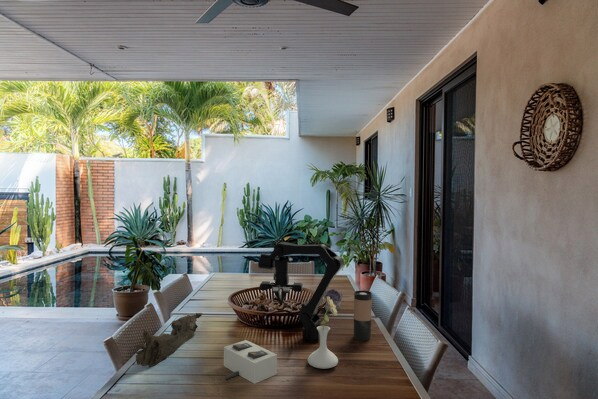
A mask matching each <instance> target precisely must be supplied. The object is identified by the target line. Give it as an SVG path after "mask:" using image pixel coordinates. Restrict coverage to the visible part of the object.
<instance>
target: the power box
mask: <svg viewBox="0 0 598 399" xmlns="http://www.w3.org/2000/svg"><path fill="white" fill-rule="evenodd" d="M236 344H248V345H250V346H252V347H250V348H247V349H244V350H240V351H238V350H236V349H234V348H233V345H236ZM256 351H262V352H264V353H266V354H268V355H265V356H262V357H260V358H252V357H250V356H248V352H256ZM223 367H225V368H227V369H228V370H230V371H232V373H229V374H226V375H225V379H226V380H228V379H229V380H230V379H231V378H233V377H236V376H238V375H239V376H240V377H242V378H244V379H245V380H246V381H248V382H250V383H252V384H257V383H259V382H262V381H264V380H266V379H269V378H271V377H274V376H276V375H277V373H278V371H277V370H278V354H277V353H275V352H273V351H270V350H268V349H266V348H264V347H262V346H259V345H257V344H256V343H253V342H251V341H249V340H247V339H245V340H242V341H238V342H234V343H232V344H229V345H226V346H224V347H223Z"/></svg>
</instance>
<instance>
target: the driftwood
mask: <svg viewBox="0 0 598 399" xmlns="http://www.w3.org/2000/svg"><path fill="white" fill-rule="evenodd" d="M202 316H203V313H202V312H196V313H195V314H192V315H191V314H187V315H184V316H183V317H181V316H180V317H179V318H178V319H176V320H173V321H172V322H171V323H170V327H171V329H172V330H171V332H170V333H161V335H154V334H151V333H150V332H148V331H147V330H145V329H143V330H142V331H143V333H142V338H143V340H144V341H145V344H137V345H135V349H138V350H139V351H134V353H135V354H136V355H135V361H136V365H140V366H143V367H146V366H147V367H148V368H150V367H153V366H156V365H158V364H159V363H161V362H162V361H164V360H165V359H167V358H168V357H170V356H171V355H173V354H174V353H175V352H176V351H177V350H178V349H179V348H180V347H181V346H182V345H183V344H184V343H186V342H187V341H189V340H191V339H193V338H194V336H195V332H196V330H197V328H198V327H199V325H197V321H198V320H197V319H200V318H201V317H202Z"/></svg>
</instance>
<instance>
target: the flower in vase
mask: <svg viewBox="0 0 598 399" xmlns="http://www.w3.org/2000/svg"><path fill="white" fill-rule="evenodd" d="M327 302H328V305H329V307H328V309H329V308H330V310H331V312H332V313H331V314H333V316H338V314H339V313H338V312H339V311H337V310H336V309H335V308H336V306H335V305H334V303H333V300H332V299H331V300H330V297H329V298H328V296H327ZM328 309H327V311H328ZM327 311H326V310H325V313H324V317H323V320H321V321H320V323H319V326H318V327H317V330H318V331H319V347H318V348H317V349H316V350H314V351H313V352H312V353H310V355H309V356H308V358H307V363H308V364H309V365H310V366H311V367H314V368H317V369H323V370H325V369H330V368H331V369H332V368H334V367H335V366H337V365H338V363H339V359H338V357H337V356H336V354H335V353H334V352H332V351H331V350H329V349H328V347H327V337H328V333H329V331H330V330H331V327H329V326H328V325H327V326H326V325H325V324H327V323H328V322H329V320H330V318H329V315H327V313H328V312H327ZM320 324H321V325H320Z"/></svg>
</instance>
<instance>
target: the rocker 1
mask: <svg viewBox="0 0 598 399" xmlns="http://www.w3.org/2000/svg"><path fill="white" fill-rule="evenodd" d="M250 347H252V346H250V345H248V344H236V345H233V348H234V349H236V350H238V351H240V350H244V349H247V348H250Z"/></svg>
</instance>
